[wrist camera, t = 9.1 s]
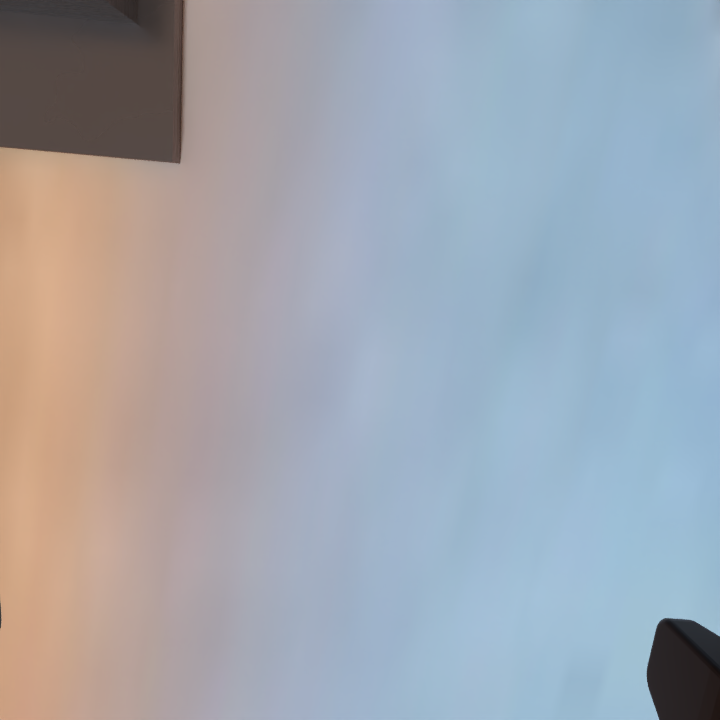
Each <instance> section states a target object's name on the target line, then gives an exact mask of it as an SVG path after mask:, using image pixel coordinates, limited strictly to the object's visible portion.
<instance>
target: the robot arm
mask: <svg viewBox="0 0 720 720" xmlns="http://www.w3.org/2000/svg"><path fill="white" fill-rule="evenodd" d="M0 628H1V605H0ZM647 682H648V687H649V691H650V694H651V697H652V699H653V702H654V705H655V708H656V711H657V714H658V717H659V720H720V636H718V635H716V634H715V633H713V632H711V631H710V630H708V629H706V628H705V627H703V626H701V625H700V624H698V623H696V622H695V621H692V620H685V619H671V618H664V619H663V620H661V621H660V622H659V624H658V625H657V628H656V632H655V636H654V641H653V645H652V649H651V653H650V658H649V662H648V666H647Z"/></svg>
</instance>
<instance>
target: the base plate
mask: <svg viewBox="0 0 720 720" xmlns="http://www.w3.org/2000/svg"><path fill="white" fill-rule="evenodd" d="M182 12H183V0H0V147H6V148H17V149H28V150H39V151H50V152H61V153H72V154H82V155H93V156H104V157H115V158H126V159H137V160H148V161H159V162H170V163H180V127H181V69H182Z"/></svg>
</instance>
